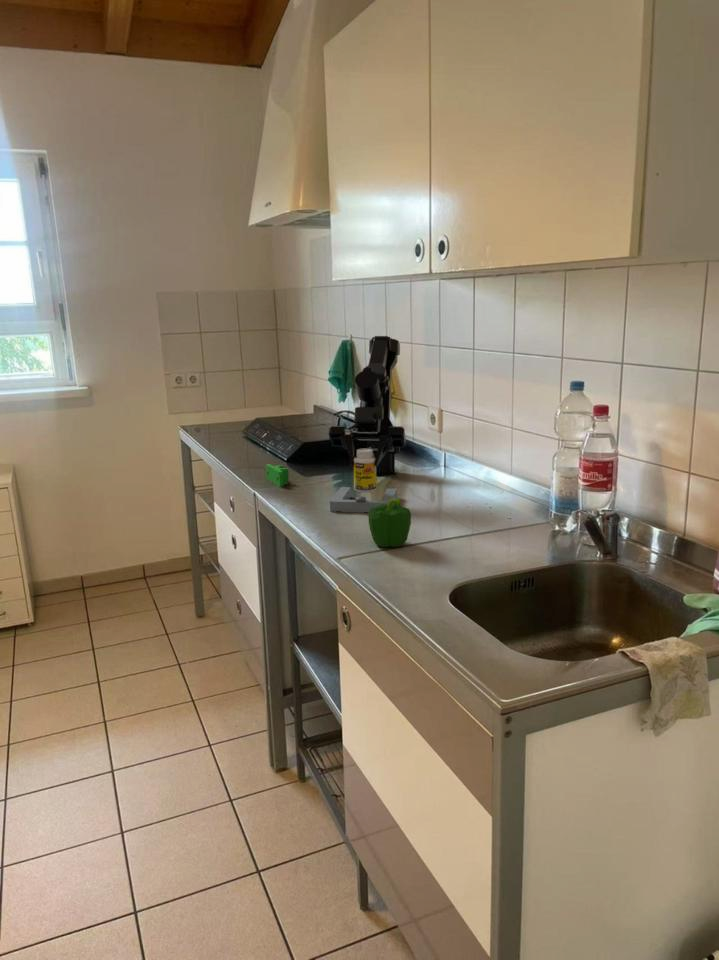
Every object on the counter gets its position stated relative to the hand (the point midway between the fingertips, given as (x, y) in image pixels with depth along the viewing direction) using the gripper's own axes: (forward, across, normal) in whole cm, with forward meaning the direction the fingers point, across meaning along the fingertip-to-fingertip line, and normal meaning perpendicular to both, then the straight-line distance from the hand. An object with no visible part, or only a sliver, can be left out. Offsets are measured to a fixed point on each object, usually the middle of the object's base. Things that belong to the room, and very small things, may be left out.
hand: (364, 465), depth 176 cm
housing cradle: (+7, 0, +7) cm, 10 cm away
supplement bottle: (+4, 0, +6) cm, 7 cm away
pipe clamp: (-7, -27, +22) cm, 36 cm away
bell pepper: (+28, +10, -14) cm, 33 cm away
